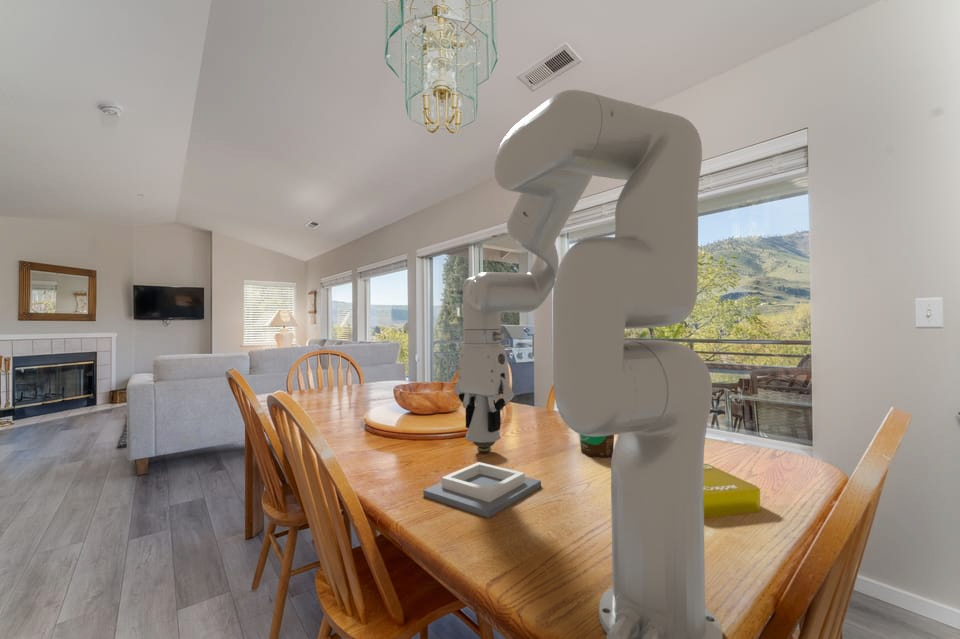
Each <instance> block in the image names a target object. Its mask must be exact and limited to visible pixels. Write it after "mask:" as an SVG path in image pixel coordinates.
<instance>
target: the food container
mask: <svg viewBox="0 0 960 639" xmlns="http://www.w3.org/2000/svg"><path fill="white" fill-rule="evenodd" d="M578 434H579V433H578ZM614 441H615V435H608V436H598V437H592V436H585V435H582V434H579V443H580V452H581V454H583V455H584V454H585V456H587V455H588V457H592V458H597V457H599V459H610V458H612V455H613V450H614V446H615V443H614ZM609 457H610V458H609Z"/></svg>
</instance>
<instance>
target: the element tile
mask: <svg viewBox="0 0 960 639" xmlns="http://www.w3.org/2000/svg"><path fill="white" fill-rule="evenodd" d="M759 512H761V489H760V487H758V486H757V485H755V484H752V483H751V482H748V481H746V480H744V479H741V478H739V477H737V476H735V475H732V474H730V473H728V472H726V471H725V470H724V471H723V470H721V469H719V468H717V467H715V466H713V465H710V464H708V463H704V519H709V518H718V517H719V518H720V517H726V516H736V515H745V514H754V513H759Z"/></svg>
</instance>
